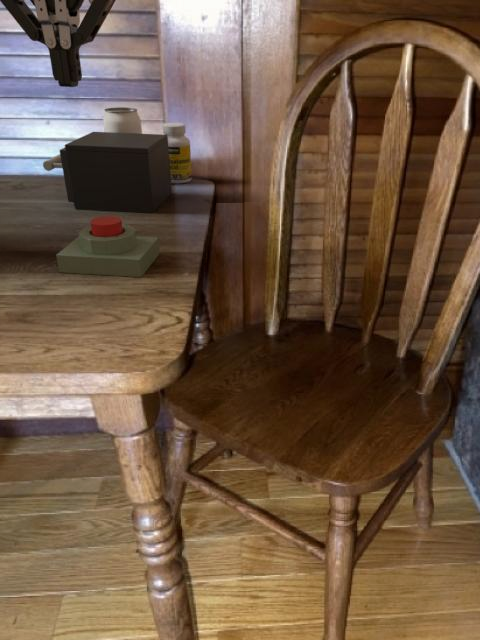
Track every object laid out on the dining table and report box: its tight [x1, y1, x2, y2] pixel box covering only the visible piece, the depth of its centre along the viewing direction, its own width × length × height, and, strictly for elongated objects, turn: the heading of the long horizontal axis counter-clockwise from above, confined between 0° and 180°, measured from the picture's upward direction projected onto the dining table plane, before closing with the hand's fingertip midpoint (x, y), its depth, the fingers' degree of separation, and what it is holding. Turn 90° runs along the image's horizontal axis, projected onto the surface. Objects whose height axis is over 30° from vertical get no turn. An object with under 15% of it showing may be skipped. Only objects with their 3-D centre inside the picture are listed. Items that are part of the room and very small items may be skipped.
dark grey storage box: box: [64, 131, 173, 214], centre depth 92 cm, size 13×12×10 cm
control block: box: [55, 223, 160, 278], centre depth 70 cm, size 10×8×4 cm
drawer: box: [42, 147, 74, 203], centre depth 92 cm, size 16×10×8 cm
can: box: [102, 106, 143, 134], centre depth 103 cm, size 6×6×12 cm
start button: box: [89, 215, 123, 237], centre depth 68 cm, size 4×4×2 cm
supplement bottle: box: [162, 122, 192, 185], centre depth 104 cm, size 5×5×10 cm
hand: (68, 85), depth 65 cm, fingers closed
